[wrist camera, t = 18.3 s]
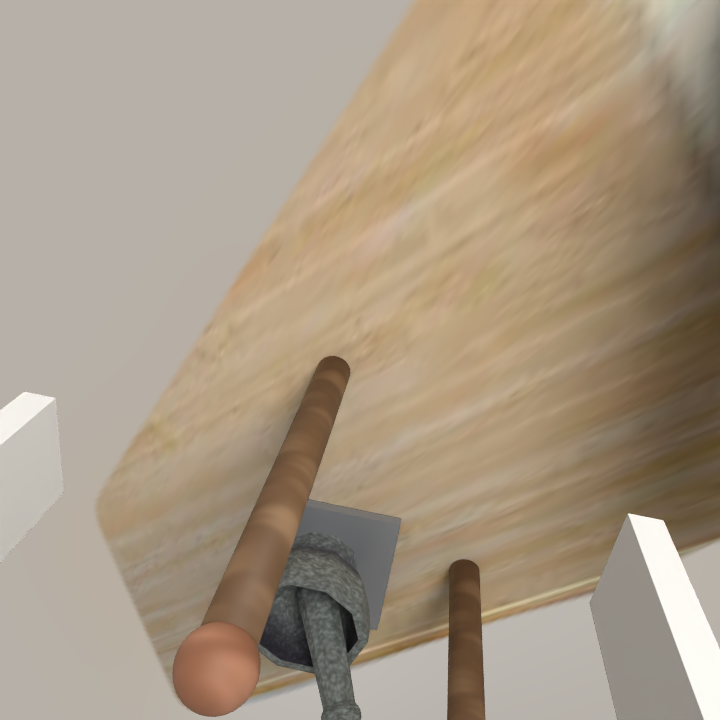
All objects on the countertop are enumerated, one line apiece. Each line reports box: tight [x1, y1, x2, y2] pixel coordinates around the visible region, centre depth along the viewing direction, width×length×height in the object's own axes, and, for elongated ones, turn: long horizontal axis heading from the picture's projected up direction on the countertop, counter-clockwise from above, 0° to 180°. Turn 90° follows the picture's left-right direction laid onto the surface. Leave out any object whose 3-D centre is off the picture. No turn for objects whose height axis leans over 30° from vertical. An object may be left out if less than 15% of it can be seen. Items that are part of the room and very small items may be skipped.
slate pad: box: [295, 500, 401, 630], centre depth 53 cm, size 11×12×1 cm
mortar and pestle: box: [258, 531, 370, 720], centre depth 48 cm, size 11×9×12 cm
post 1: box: [173, 356, 350, 717], centre depth 34 cm, size 3×3×26 cm
